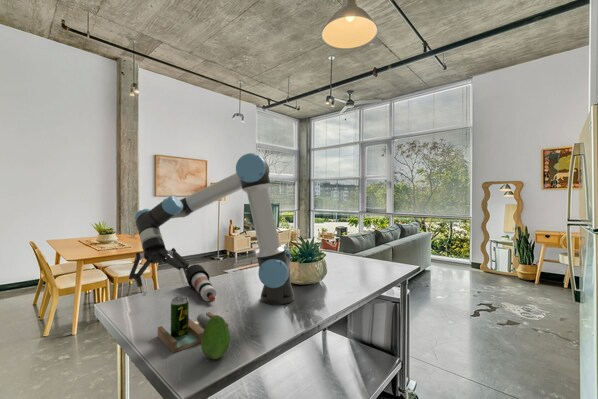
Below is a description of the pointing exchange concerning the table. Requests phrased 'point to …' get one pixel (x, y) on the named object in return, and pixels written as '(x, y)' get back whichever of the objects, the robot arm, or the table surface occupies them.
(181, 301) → the beer can
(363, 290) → the table surface
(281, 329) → the table surface
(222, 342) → the avocado
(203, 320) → the smooth gray cylinder
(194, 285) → the cable
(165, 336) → the caddy
